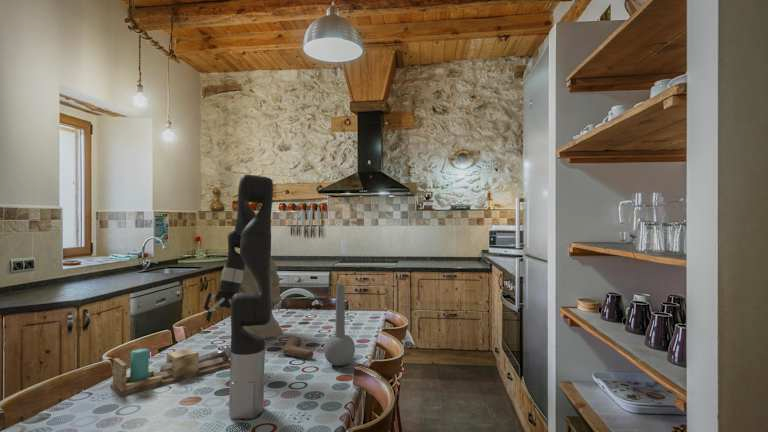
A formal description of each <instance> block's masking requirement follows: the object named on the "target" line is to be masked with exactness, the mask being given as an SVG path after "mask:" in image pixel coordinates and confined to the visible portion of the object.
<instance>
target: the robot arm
mask: <svg viewBox="0 0 768 432" xmlns="http://www.w3.org/2000/svg"><path fill="white" fill-rule="evenodd" d="M273 182H274V181H273V180H272V179H271V177H267V176H261V175H254V174H243V175H242V176H241V178H240V180H239V183H238V189H237V205H236V206H237V214H236V220H235V227H234V228H233V229H231V230H230V231H229V232H228V236H227V248H228V249H227V251H228V252H227V258H226V262H225V265H226V266H225V265H224V266H225V269H224V268H223V269H224V272H223V274H222V273H221V274H222V277H221V276H220V278H221V282H219V283H220V284H219V286H218V289H217V293H216V294H213V293H211V292H209V293H208V294H207V297H206V300H205V303H204V305H203V309H204V310H206V311H207V315H206V318H205V320H206V321H207V323H210V321H211V318H212V315H213V314H212V313H213V311H214V310H215V309H216V308H217V307H220V308H227V309H230V350H231V357H230V359H229V360H230V367H229V394H228V395H229V396H228V397H229V398H228V399H229V401H228V402H229V403H228V405H229V406H228V414H229V418H230V419H238V420H239V419H254V418H255V417H256V416H258V415H260V414H261V413H262V412H263V411H264V408H265V407H264V402H265V401H264V400H265V398H264V397H265V394H264V393H265V360H266V359H265V358H266V356H265V355H266V339H264V338H263V337H261V336H258V335H255V334H252V333H249V332H248V331H246V330H245V329H244V328H243V326H256V325H266V324H267V323H268V322H269V320H270V316H271V291H270V259H271V258H272V255H271V253H272V211H273V210H272V208H273V198H274V197H273V196H274V183H273ZM249 203H253V204H254V203H255V204H261V206H260V208H259V211H257V213H255V211H254V208H252V207H251V205H250V204H249ZM236 249H239V253H238V252H237V250H236ZM245 264H246V265H247V267H248V268H249V270H250V271H251V272H252V274H253V276H254V277H255V279H256V281H257V284H258V286H259V290H260V292H258V293H239V291H240V287H241V283H242V279H243V272H244V268H245ZM214 298H215V300H216V302H215V303H214V304H213V305H212V306H211V307H209V305H210V301H211V300H213V299H214Z"/></svg>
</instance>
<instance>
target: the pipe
mask: <svg viewBox="0 0 768 432" xmlns="http://www.w3.org/2000/svg"><path fill="white" fill-rule="evenodd" d="M301 345H302V340H301V338H300V337H299V336H297V335H291V336H290V337H288V339H287V341H286V343H285V346H284V348H283V350H282V354H283V355H285V356H286V355H287V356H290V357H294V358H297V359H298V358H299V359H303V360H311V359H312V358H313V357H314V351H312V350H309V349H306V348H302V347H301Z"/></svg>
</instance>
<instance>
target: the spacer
mask: <svg viewBox="0 0 768 432" xmlns="http://www.w3.org/2000/svg"><path fill="white" fill-rule="evenodd" d="M149 356H150V350H149V348H139V349H138V348H137V349H134V350H132V351H130V375H129V376H130V383H133V382H137V381H141V380H145V379H148V371H149V367H150V366H149V365H150V364H149V363H150V362H149V361H150V357H149Z"/></svg>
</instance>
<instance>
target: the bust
mask: <svg viewBox="0 0 768 432" xmlns="http://www.w3.org/2000/svg"><path fill="white" fill-rule="evenodd" d="M225 266H226V264H224V266H223V269H222V270H221V275H220V277H219V281H220V282H221V277H222V274H223V272H224V269H225ZM277 269H278V265H277V263H276V262H275V260H274V259H273V257H271V259H270V291H271V316H270V320H269V322H268V323H267V324H266V325H256V326H243V328H244V329H245V330H246V331H248V332H249V333H252V334H255V335H258V336H261V337H263V338H264V340H266V339H270V338H272V337H276V336H279V335H281V334H282V333H283V332H282V328H281V326H280V324H279V321H278V320H276V318H275V317H274V315H273V309H274V307H276V305H278V304H279V303H281V301H282V296H281V294H280V289H281V287H280V276H279V274H278V270H277ZM220 282H219V283H220ZM258 292H260V290H259V286H258V284H257V281H256V279H255V277H254V276H253V274H252V272H251V271H250V270H249V268H248V267H247V265H246V264H245V268H244V272H243V279H242V283H241V287H240V291H239V293H258Z"/></svg>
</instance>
